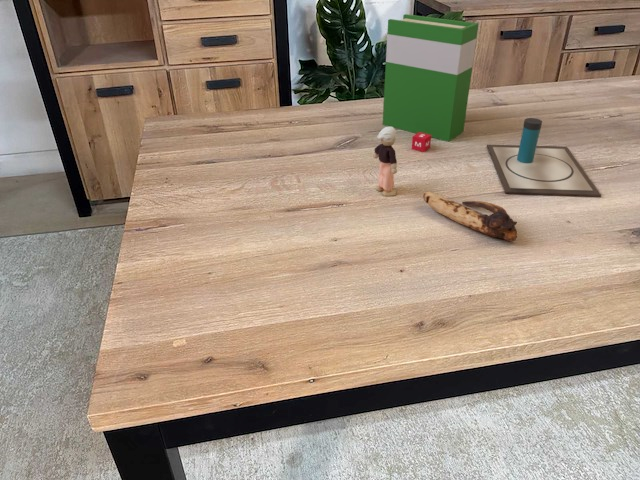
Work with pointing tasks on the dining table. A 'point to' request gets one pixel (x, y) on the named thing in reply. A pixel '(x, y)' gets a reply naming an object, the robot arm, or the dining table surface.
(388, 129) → the grandmother figurine
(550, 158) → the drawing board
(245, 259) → the dining table surface
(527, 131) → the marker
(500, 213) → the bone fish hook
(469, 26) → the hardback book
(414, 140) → the dice
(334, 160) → the dining table surface
